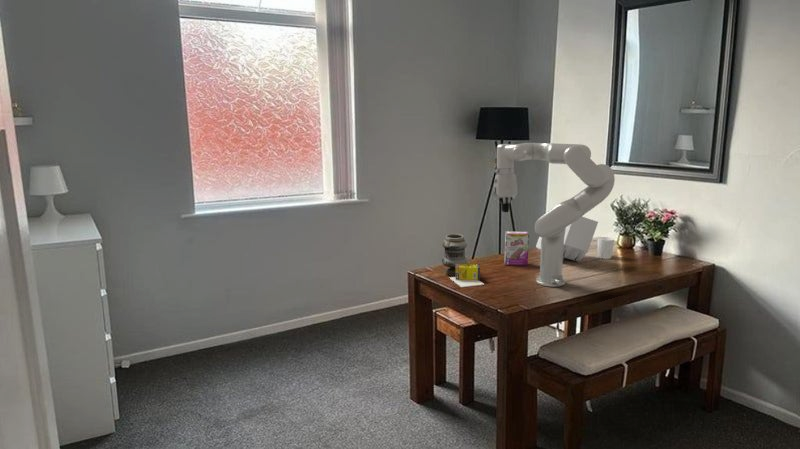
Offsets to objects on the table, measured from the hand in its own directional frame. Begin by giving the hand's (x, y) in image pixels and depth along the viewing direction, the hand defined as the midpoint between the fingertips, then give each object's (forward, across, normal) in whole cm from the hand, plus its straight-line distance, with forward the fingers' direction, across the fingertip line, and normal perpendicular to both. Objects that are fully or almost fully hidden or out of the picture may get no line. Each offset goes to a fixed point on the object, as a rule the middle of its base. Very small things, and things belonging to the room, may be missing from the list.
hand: (505, 211), depth 246 cm
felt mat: (+30, -21, -2) cm, 37 cm away
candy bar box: (+30, +14, +13) cm, 36 cm away
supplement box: (+26, -14, -1) cm, 30 cm away
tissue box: (+31, +41, +10) cm, 52 cm away
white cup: (+31, +63, +6) cm, 70 cm away
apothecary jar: (+30, -20, +13) cm, 38 cm away
